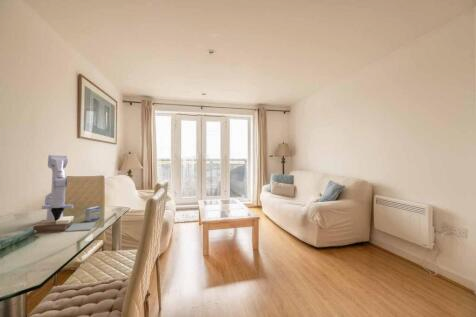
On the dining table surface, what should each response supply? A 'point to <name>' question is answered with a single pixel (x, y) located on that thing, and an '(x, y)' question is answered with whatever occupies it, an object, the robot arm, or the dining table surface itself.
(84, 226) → the mat
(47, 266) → the dining table surface
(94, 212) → the medicine box
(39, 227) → the brown wooden tray
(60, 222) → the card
